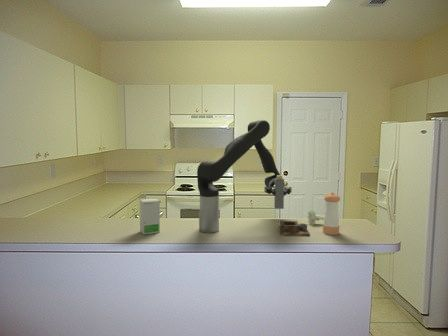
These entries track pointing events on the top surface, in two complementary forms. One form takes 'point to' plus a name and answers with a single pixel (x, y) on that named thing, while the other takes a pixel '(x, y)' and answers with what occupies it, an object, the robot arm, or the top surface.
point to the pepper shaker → (331, 215)
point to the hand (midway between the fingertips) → (279, 193)
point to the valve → (313, 217)
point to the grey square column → (279, 192)
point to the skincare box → (149, 216)
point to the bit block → (293, 228)
